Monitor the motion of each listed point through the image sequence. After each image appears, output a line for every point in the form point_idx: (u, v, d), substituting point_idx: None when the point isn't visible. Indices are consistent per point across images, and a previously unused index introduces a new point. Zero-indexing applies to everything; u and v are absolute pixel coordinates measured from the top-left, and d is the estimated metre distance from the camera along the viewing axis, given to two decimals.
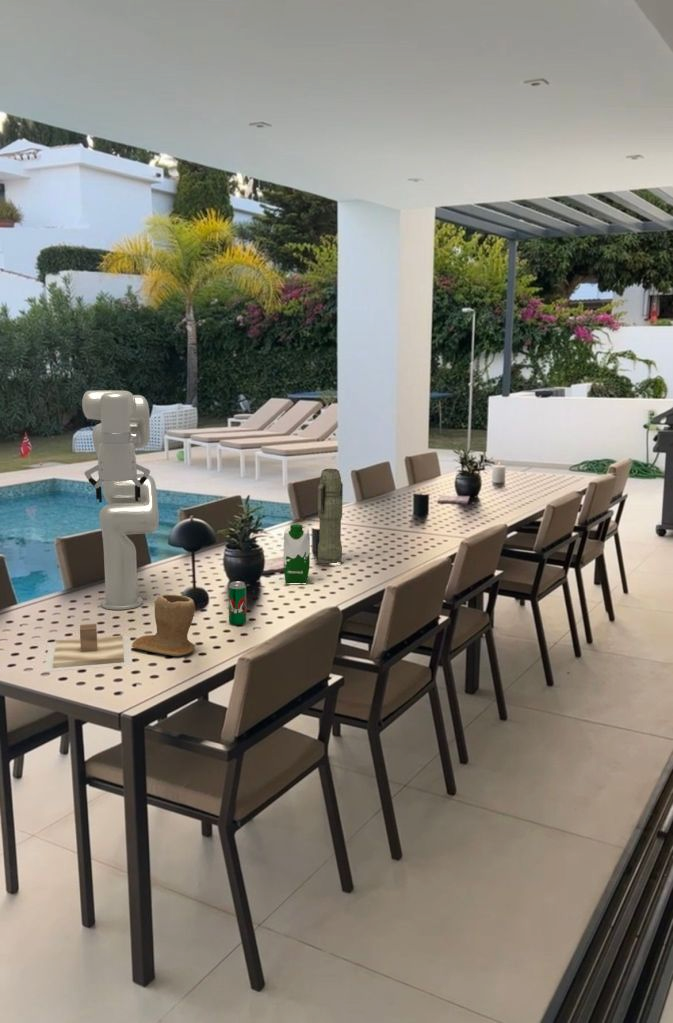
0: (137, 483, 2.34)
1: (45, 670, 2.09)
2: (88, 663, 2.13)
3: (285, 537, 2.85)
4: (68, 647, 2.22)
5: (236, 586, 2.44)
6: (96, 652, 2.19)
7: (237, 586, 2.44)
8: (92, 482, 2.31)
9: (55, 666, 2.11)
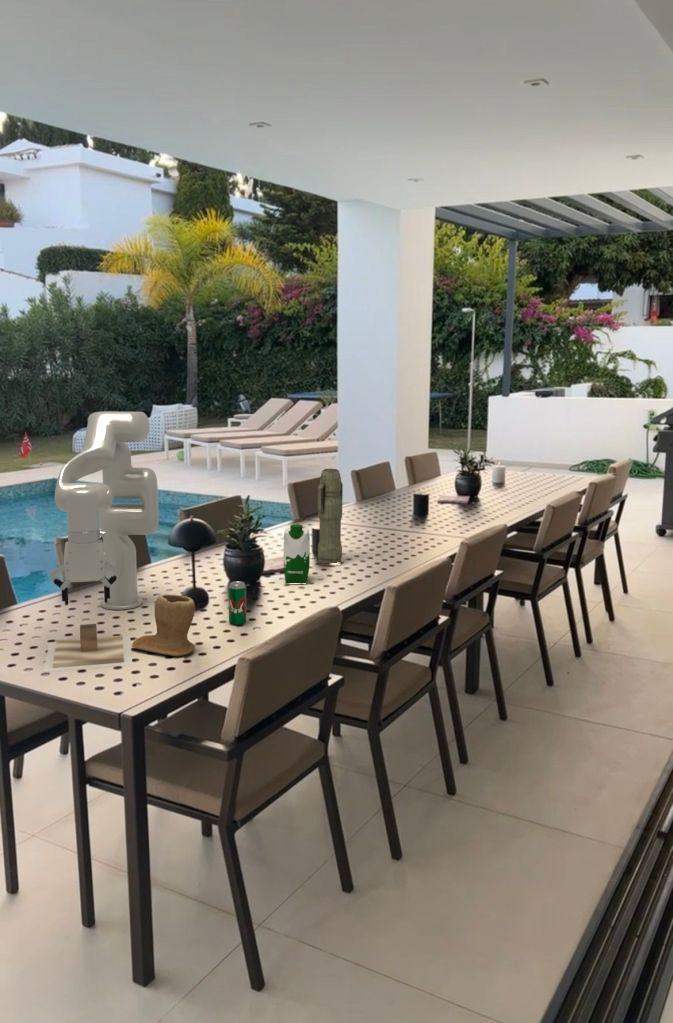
0: (106, 583, 2.17)
1: (45, 670, 2.09)
2: (88, 663, 2.13)
3: (285, 537, 2.85)
4: (68, 647, 2.22)
5: (236, 586, 2.44)
6: (96, 652, 2.19)
7: (237, 586, 2.44)
8: (57, 583, 2.15)
9: (55, 666, 2.11)
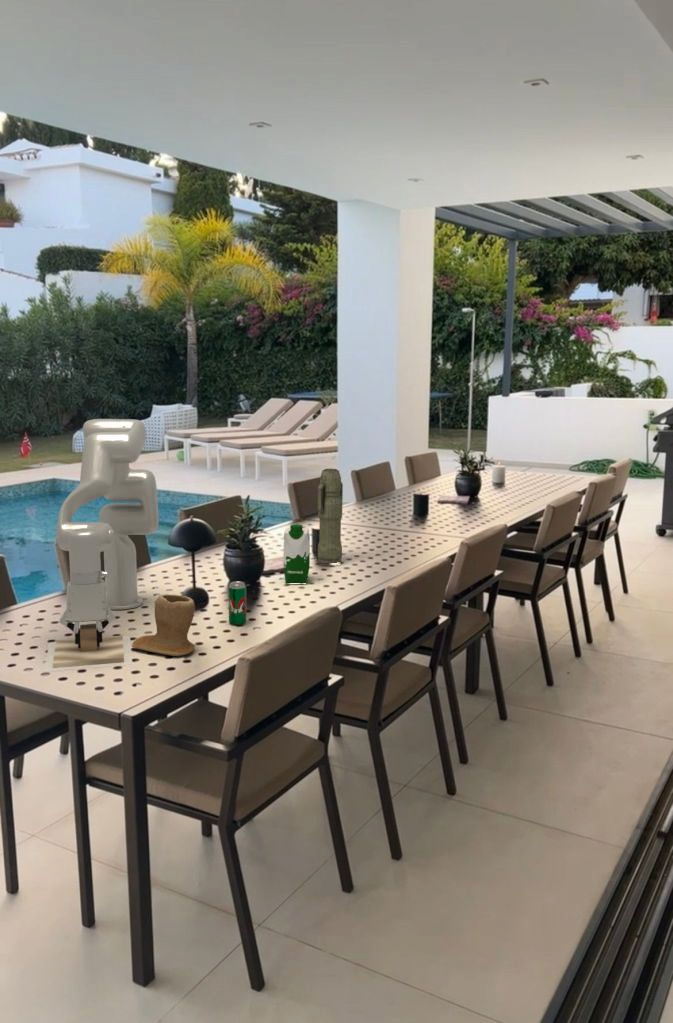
0: (98, 628, 2.19)
1: (45, 670, 2.09)
2: (88, 663, 2.13)
3: (285, 537, 2.85)
4: (68, 647, 2.22)
5: (236, 586, 2.44)
6: (96, 652, 2.18)
7: (237, 586, 2.44)
8: (71, 627, 2.18)
9: (55, 666, 2.11)
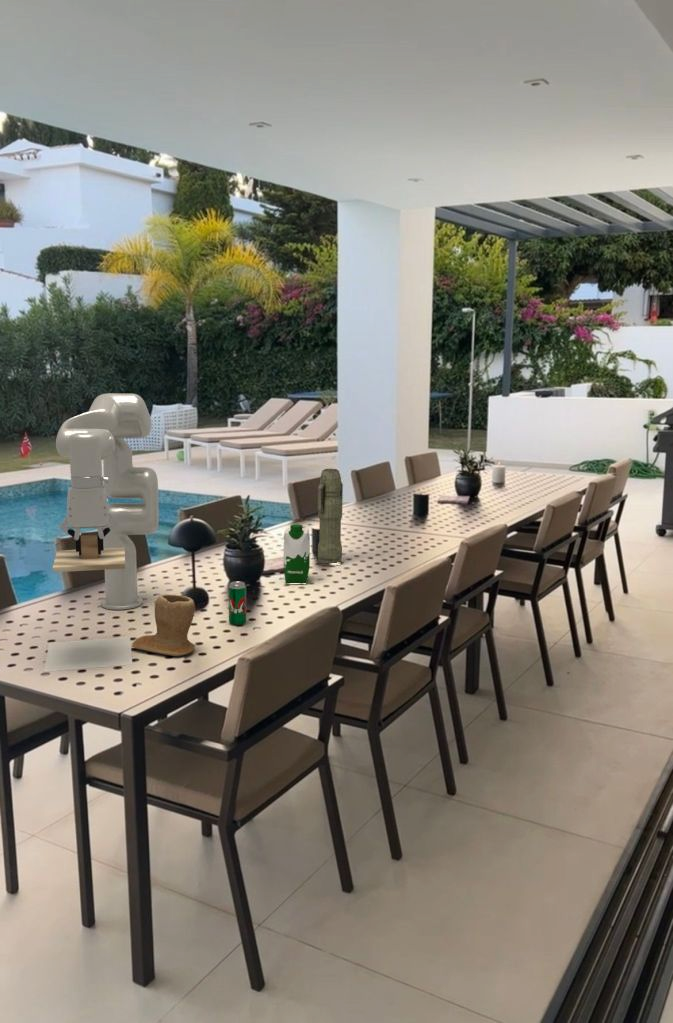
0: (99, 535, 2.15)
1: (45, 670, 2.09)
2: (89, 568, 2.09)
3: (285, 537, 2.85)
4: (69, 555, 2.18)
5: (236, 586, 2.44)
6: (97, 559, 2.14)
7: (237, 586, 2.44)
8: (71, 533, 2.14)
9: (55, 570, 2.07)
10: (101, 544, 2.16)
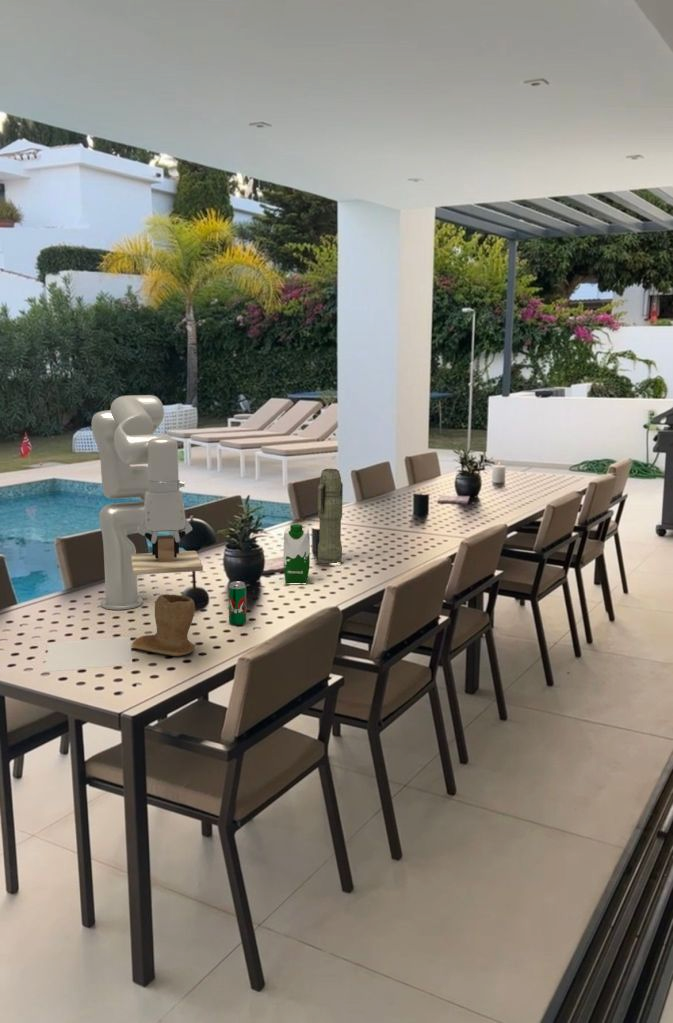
0: (176, 538, 2.19)
1: (45, 670, 2.09)
2: (168, 571, 2.13)
3: (285, 537, 2.85)
4: (144, 558, 2.22)
5: (236, 586, 2.44)
6: (174, 562, 2.18)
7: (237, 586, 2.44)
8: (148, 537, 2.18)
9: (135, 573, 2.11)
10: (177, 547, 2.20)
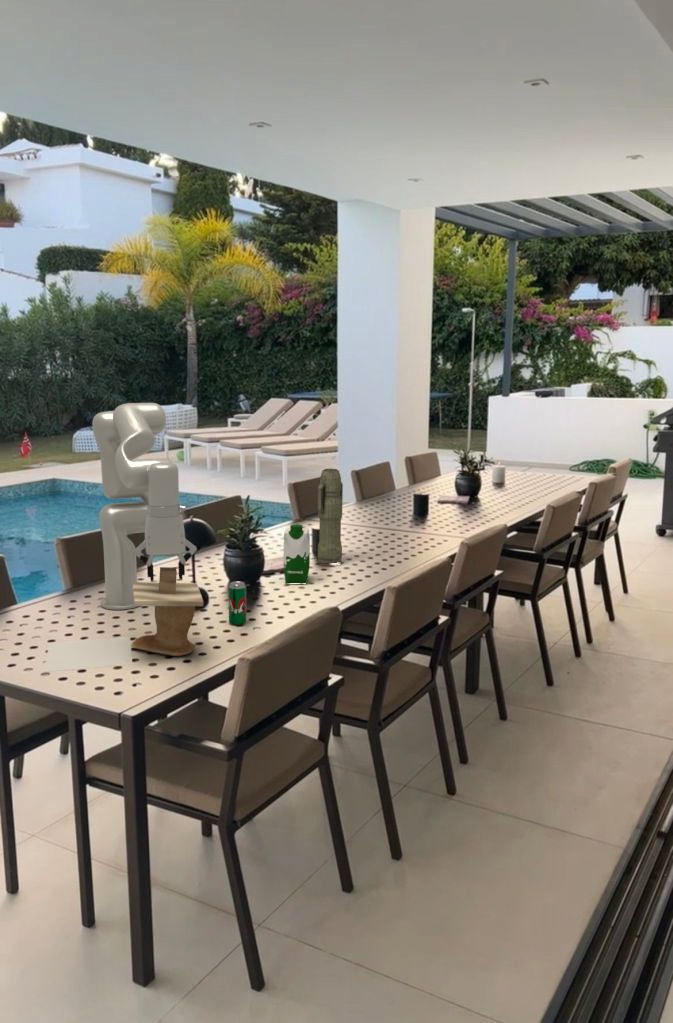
0: (181, 560, 2.21)
1: (45, 670, 2.09)
2: (168, 604, 2.14)
3: (285, 537, 2.85)
4: (146, 588, 2.23)
5: (236, 586, 2.44)
6: (175, 595, 2.20)
7: (237, 586, 2.44)
8: (143, 560, 2.18)
9: (136, 604, 2.12)
10: (182, 569, 2.22)
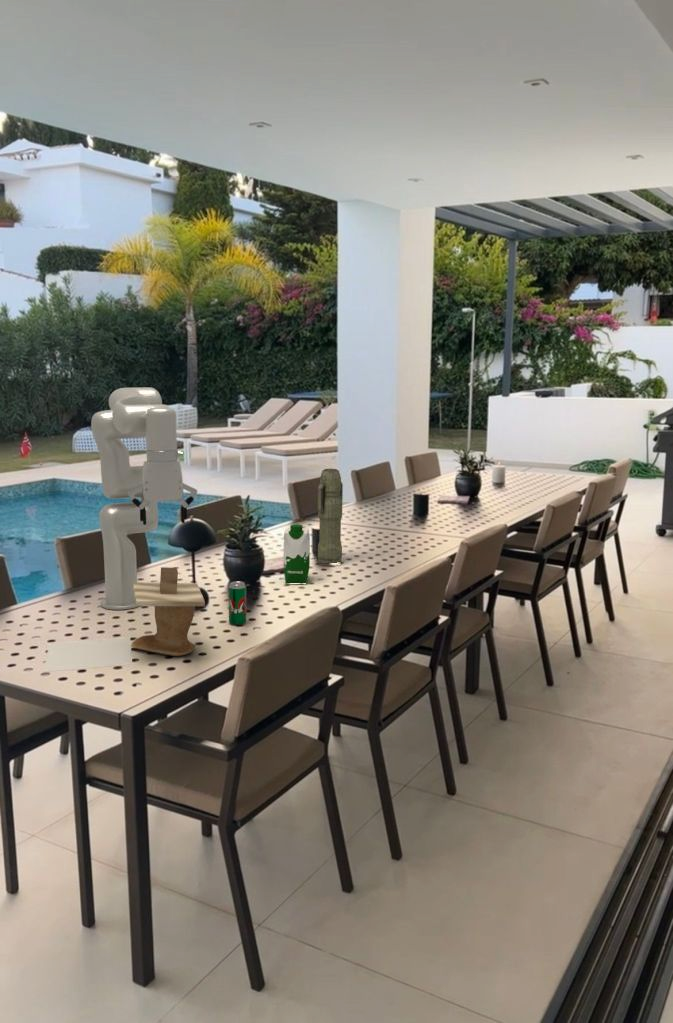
0: (184, 504, 2.18)
1: (45, 670, 2.09)
2: (170, 604, 2.14)
3: (285, 537, 2.85)
4: (147, 588, 2.23)
5: (236, 586, 2.44)
6: (176, 595, 2.20)
7: (237, 586, 2.44)
8: (136, 503, 2.16)
9: (138, 604, 2.12)
10: (185, 513, 2.19)
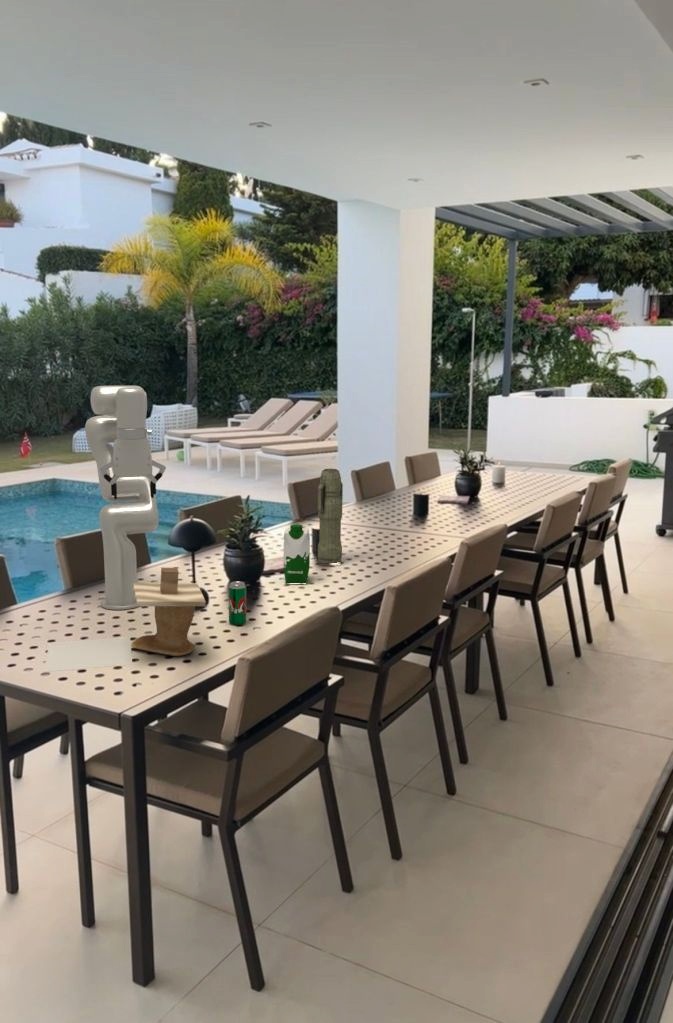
0: (153, 479, 2.31)
1: (45, 670, 2.09)
2: (171, 604, 2.14)
3: (285, 537, 2.85)
4: (147, 588, 2.23)
5: (236, 586, 2.44)
6: (177, 595, 2.20)
7: (237, 586, 2.44)
8: (107, 478, 2.28)
9: (139, 604, 2.12)
10: (154, 488, 2.32)
